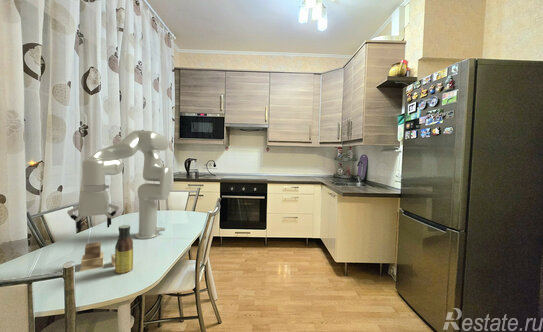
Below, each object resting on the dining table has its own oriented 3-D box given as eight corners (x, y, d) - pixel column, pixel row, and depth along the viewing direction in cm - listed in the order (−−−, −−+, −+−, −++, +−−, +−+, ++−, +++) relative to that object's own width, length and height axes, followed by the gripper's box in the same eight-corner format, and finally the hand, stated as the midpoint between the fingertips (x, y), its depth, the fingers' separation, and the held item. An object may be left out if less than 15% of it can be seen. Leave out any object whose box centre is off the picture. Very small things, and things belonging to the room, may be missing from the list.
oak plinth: (103, 260, 103) (103, 251, 103) (102, 267, 97) (102, 257, 97) (83, 263, 99) (83, 254, 99) (81, 271, 93) (81, 261, 93)
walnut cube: (100, 252, 102) (100, 241, 101) (99, 257, 97) (100, 245, 97) (86, 255, 99) (86, 243, 99) (84, 259, 95) (85, 247, 94)
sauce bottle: (120, 269, 98) (121, 223, 97) (135, 269, 99) (136, 223, 98) (111, 277, 92) (112, 228, 91) (127, 277, 92) (128, 228, 91)
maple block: (121, 260, 104) (122, 252, 103) (124, 263, 101) (125, 255, 101) (111, 263, 101) (111, 254, 100) (114, 267, 98) (114, 257, 98)
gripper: (118, 186, 105) (118, 222, 106) (68, 188, 95) (69, 228, 96) (118, 188, 99) (118, 227, 100) (65, 191, 89) (66, 234, 90)
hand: (94, 228), depth 98 cm, fingers open, 9 cm apart
